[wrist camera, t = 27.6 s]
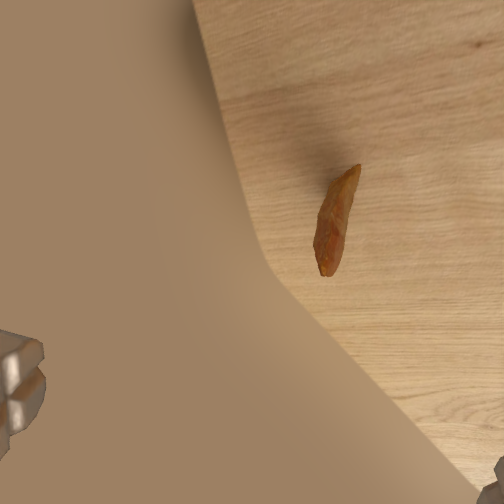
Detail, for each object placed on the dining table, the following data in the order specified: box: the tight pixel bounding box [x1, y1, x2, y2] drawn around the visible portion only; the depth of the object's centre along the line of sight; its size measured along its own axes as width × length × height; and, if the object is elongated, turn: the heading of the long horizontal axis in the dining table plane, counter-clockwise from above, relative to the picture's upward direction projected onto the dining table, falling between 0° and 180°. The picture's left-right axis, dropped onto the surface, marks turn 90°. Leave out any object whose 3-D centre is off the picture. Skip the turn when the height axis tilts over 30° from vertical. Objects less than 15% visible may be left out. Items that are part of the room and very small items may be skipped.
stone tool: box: [313, 164, 361, 277], centre depth 27 cm, size 5×2×15 cm, turn 172°
